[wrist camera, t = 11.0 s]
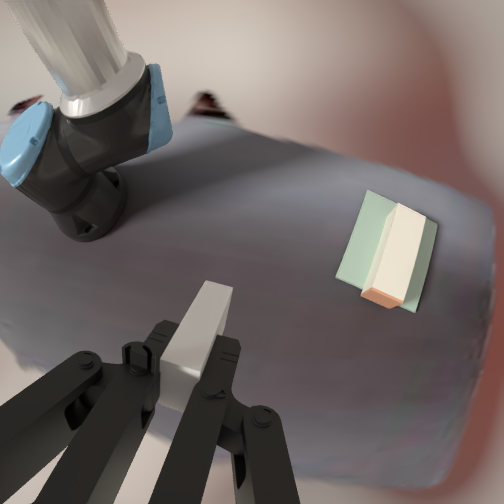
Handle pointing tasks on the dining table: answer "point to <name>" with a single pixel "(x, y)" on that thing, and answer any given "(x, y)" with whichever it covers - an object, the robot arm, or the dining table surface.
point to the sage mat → (367, 242)
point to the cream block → (394, 257)
